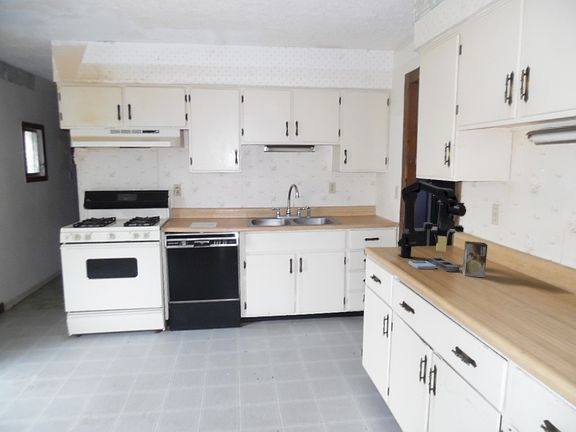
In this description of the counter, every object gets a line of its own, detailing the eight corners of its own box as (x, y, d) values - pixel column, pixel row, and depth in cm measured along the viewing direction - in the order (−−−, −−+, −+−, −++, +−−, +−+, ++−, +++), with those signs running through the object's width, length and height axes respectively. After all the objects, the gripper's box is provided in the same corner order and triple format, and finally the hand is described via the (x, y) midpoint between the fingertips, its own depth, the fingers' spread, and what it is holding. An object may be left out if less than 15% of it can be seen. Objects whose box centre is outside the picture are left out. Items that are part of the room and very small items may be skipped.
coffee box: (481, 274, 194) (485, 242, 191) (484, 277, 188) (488, 245, 185) (461, 272, 196) (464, 240, 194) (464, 275, 190) (467, 243, 187)
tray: (408, 263, 208) (408, 260, 208) (425, 263, 210) (426, 260, 210) (417, 268, 199) (417, 266, 198) (435, 268, 200) (435, 265, 200)
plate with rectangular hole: (428, 262, 213) (428, 257, 213) (440, 262, 215) (440, 257, 214) (446, 271, 196) (446, 266, 196) (459, 271, 197) (459, 266, 197)
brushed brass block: (436, 249, 204) (437, 235, 203) (444, 249, 203) (446, 236, 202) (436, 250, 200) (438, 237, 199) (445, 251, 199) (447, 238, 198)
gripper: (426, 214, 194) (423, 245, 196) (467, 217, 189) (463, 248, 191) (424, 211, 204) (422, 240, 207) (463, 214, 199) (460, 244, 202)
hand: (441, 243), depth 201 cm, fingers closed on brushed brass block, 4 cm apart
